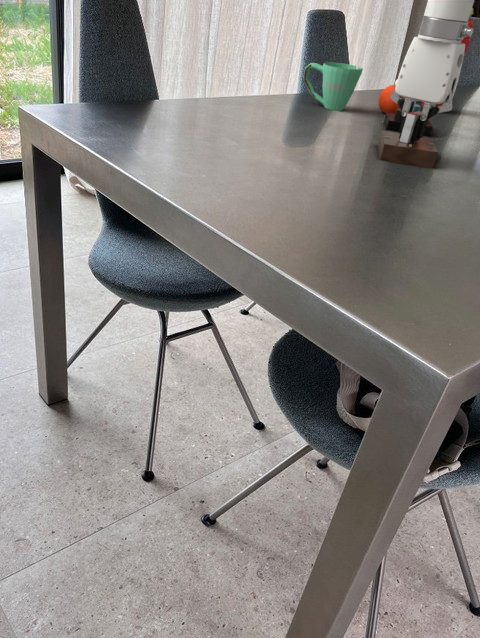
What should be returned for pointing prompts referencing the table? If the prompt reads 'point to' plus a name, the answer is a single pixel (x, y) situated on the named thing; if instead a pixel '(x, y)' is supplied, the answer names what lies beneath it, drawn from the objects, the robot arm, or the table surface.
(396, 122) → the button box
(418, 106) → the button
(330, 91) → the mug
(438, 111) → the robot arm
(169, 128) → the table surface
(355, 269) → the table surface
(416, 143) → the block
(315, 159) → the table surface
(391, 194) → the table surface
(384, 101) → the clementine
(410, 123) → the silver flat panel
